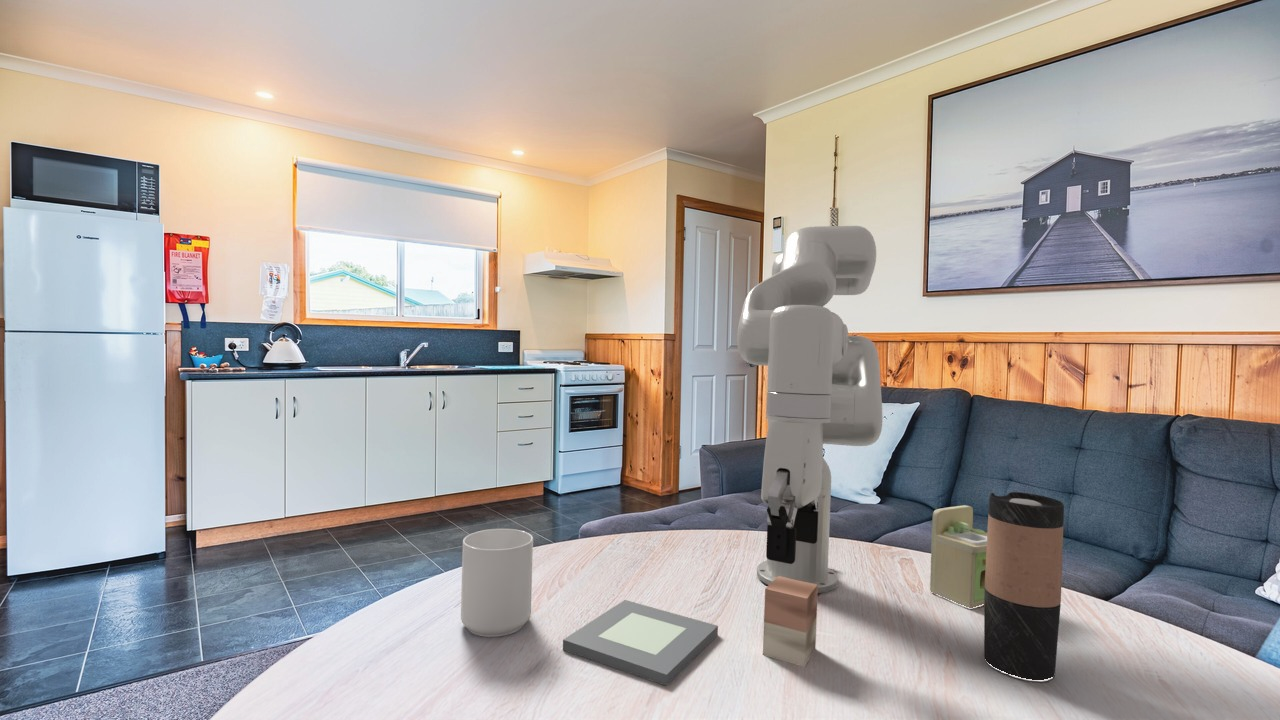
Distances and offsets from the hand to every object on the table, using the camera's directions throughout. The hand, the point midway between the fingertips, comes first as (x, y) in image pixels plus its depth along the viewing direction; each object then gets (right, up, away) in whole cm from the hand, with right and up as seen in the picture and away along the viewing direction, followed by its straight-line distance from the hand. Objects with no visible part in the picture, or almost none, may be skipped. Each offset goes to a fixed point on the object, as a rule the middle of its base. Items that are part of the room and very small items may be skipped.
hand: (792, 550), depth 73 cm
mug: (-37, -12, +7) cm, 39 cm away
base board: (-18, -12, +2) cm, 22 cm away
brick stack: (0, -13, +1) cm, 13 cm away
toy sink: (+31, -14, +19) cm, 39 cm away
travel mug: (+27, -14, -1) cm, 30 cm away
